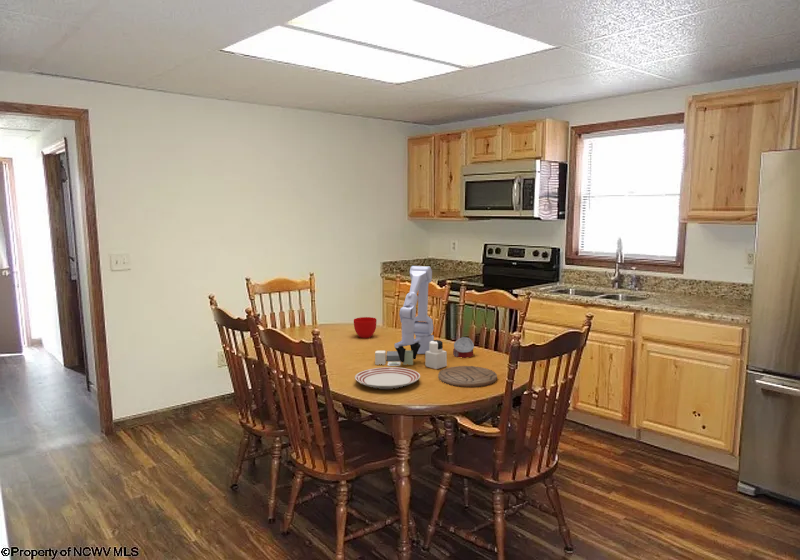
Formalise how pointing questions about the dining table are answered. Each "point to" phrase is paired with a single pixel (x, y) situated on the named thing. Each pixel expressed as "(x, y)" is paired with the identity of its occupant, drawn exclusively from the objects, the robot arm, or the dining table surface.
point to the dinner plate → (387, 377)
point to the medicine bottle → (436, 355)
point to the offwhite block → (380, 357)
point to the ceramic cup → (365, 326)
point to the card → (394, 363)
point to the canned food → (463, 347)
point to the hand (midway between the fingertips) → (408, 360)
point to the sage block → (408, 357)
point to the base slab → (392, 356)
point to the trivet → (467, 376)
